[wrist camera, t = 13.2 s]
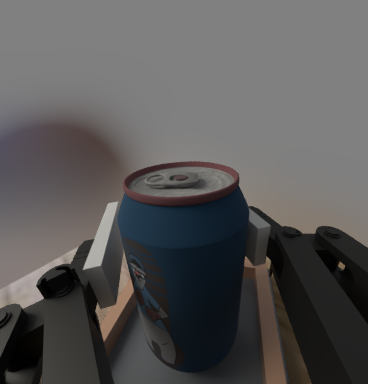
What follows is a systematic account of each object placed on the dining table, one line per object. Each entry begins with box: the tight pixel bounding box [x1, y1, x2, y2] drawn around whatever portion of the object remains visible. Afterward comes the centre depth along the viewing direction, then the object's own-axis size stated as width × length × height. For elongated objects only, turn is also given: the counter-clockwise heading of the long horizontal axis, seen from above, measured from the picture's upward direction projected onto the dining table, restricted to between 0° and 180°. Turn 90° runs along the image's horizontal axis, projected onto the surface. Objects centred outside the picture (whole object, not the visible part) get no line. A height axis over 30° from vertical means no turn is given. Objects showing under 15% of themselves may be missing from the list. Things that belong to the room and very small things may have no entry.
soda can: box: [117, 161, 250, 373], centre depth 11 cm, size 7×7×12 cm
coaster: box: [100, 259, 290, 384], centre depth 13 cm, size 13×13×3 cm
